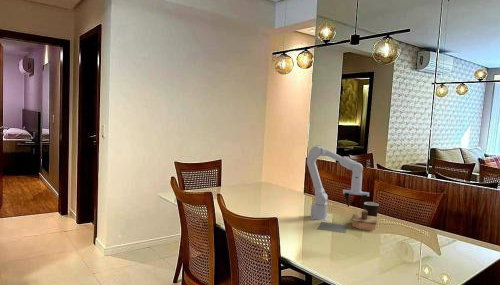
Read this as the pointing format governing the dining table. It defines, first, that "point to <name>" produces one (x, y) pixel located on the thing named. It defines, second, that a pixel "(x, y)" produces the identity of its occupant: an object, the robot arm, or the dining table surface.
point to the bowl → (363, 226)
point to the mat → (332, 227)
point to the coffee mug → (371, 208)
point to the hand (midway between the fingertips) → (355, 207)
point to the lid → (364, 218)
